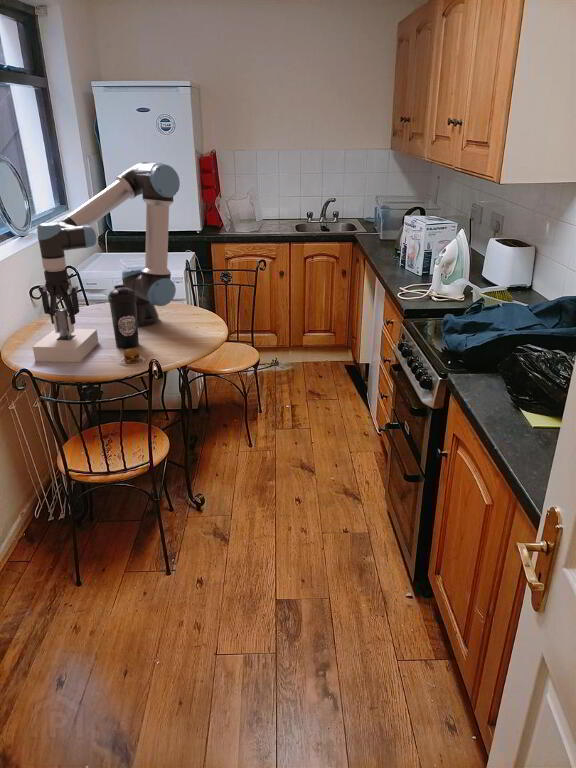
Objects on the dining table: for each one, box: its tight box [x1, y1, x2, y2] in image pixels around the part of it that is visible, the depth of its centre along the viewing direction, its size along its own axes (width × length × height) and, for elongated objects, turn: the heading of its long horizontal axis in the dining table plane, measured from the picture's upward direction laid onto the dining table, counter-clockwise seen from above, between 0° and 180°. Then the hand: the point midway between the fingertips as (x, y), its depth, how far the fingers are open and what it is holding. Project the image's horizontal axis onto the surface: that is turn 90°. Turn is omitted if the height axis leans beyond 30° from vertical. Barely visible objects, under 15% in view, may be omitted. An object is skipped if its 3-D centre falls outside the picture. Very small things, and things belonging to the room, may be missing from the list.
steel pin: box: [55, 307, 72, 340], centre depth 205 cm, size 4×4×14 cm
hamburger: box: [118, 348, 146, 367], centre depth 200 cm, size 12×12×6 cm
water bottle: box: [107, 284, 140, 350], centre depth 210 cm, size 10×10×23 cm
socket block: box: [32, 328, 99, 363], centre depth 207 cm, size 16×20×6 cm
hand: (65, 332), depth 205 cm, fingers open, 4 cm apart
